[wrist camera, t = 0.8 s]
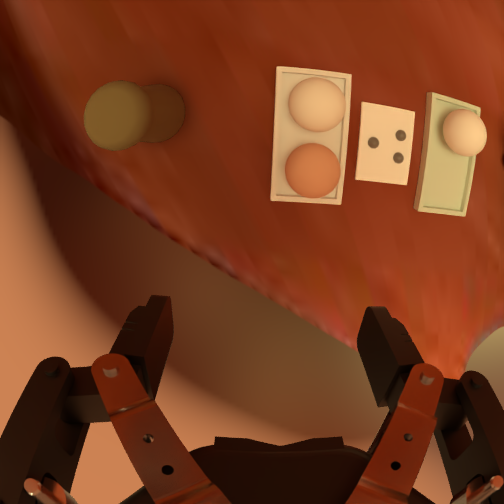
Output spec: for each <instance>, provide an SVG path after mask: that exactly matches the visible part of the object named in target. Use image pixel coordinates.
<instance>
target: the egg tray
mask: <svg viewBox="0 0 504 504" xmlns="http://www.w3.org/2000/svg"><path fill="white" fill-rule="evenodd" d="M351 76H352V74H345V73H339V72H331V71H324V70H315V69H306V68H295V67H282V66H277V67H276V82H275V107H274V130H273V151H272V172H271V191H270V199H271V201H287V202H307V203H323V204H339V205H341V200H342V192H343V183H344V174H345V164H346V153H347V141H348V129H349V114H350V98H351ZM311 77H320V78H325V79H327V80H330V81H331V82H333V83H334V84H336V85H337V86H338V87H339V88H340V90H341V91H342V93H343V95H344V97H345V101H346V111H345V115H344V117H343V119H342V121H341V122H340V123H339V124H338V125H337V126H336V127H334V128H333V129H331V130H329V131H325V132H312V131H308V130H306V129H304V128H302V127H301V126H299V125H298V124H297V123H296V122H295V121H294V119H293V118H292V116H291V114H290V111H289V106H288V101H289V96H290V93H291V91H292V89H293V88H294V87H295V86H296V85H297V84H298V83H299V82H300V81H302V80H304V79H307V78H311ZM307 143H317V144H321V145H324V146H326V147H327V148H329V149H330V150H331V151H332V152H333V153H334V154H335V155H336V157H337V159H338V161H339V163H340V169H341V175H340V179H339V182H338V184H337V186H336V187H335V189H334V190H333V191H332V192H330V193H329V194H328V195H326V196H323V197H320V198H306V197H303V196H301V195H299V194H297V193H296V192H295V191H294V190H293V189H292V188H291V187H290V185H289V184H288V182H287V180H286V176H285V164H286V161H287V158H288V156H289V155H290V154H291V152H292V151H293V150H294V149H296V148H297V147H299V146H301V145H303V144H307Z"/></svg>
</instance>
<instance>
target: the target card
mask: <svg viewBox="0 0 504 504" xmlns="http://www.w3.org/2000/svg"><path fill="white" fill-rule="evenodd" d="M414 118H415V112H413V111H409V110H404V109H399V108H394V107H389V106H384V105H379V104H373V103H367V102H361V114H360V128H359V140H358V151H357V161H356V171H355V180H365V181H375V182H384V183H392V184H400V185H407V180H408V173H409V166H410V158H411V149H412V140H413V130H414Z"/></svg>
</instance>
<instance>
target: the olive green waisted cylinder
mask: <svg viewBox="0 0 504 504" xmlns="http://www.w3.org/2000/svg"><path fill="white" fill-rule="evenodd" d="M184 118H185V105H184V102H183V99H182V97H181V96H180V94H179V93H178V92H177V91H176V90H175V89H173V88H171V87H170V86H167V85H163V84H155V85H148V86H142V87H140V86H139V85H137V84H135V83H133V82H128V81H123V80H119V81H113V82H110V83H107V84H105V85H103V86H102V87H100V88H98V89H97V90H96V91H95V92H94V93H93V94H92V95H91V97H90V99H89V101H88V103H87V104H86V108H85V112H84V126H85V129H86V132H87V135H88V136H89V138H90V139H91V140H92V142H93V143H95V144H96V145H98V146H99V147H101V148H104V149H108V150H112V151H117V150H124V149H127V148H129V147H131V146H133V145H136V144H137V143H138V142H150V143H154V142H162V141H165V140H168V139H170V138H171V137H172V136H174V135H175V134H176V133H177V132H178V131H179V129H180V128H181V126H182V124H183V121H184Z"/></svg>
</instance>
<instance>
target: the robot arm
mask: <svg viewBox="0 0 504 504" xmlns="http://www.w3.org/2000/svg"><path fill="white" fill-rule="evenodd" d="M173 334H174V325H173V315H172V305H171V298H170V296H159V295H151V297H150V299H149V301H148V303H147V305H146V306H138V307H137V308H135V309H134V310H133V311H132V312H130V314H129V316H128V318H127V319H126V323H124V325H123V327H122V330H121V331H120V333H119V335H118V337H117V339H116V341H115V343H114V345H113V346H112V348H111V351H110V352H109V354H106V355H103V356H100V357H99V358H97V359H96V360H95V361H94V363H93V364H92V366H89V367H76V368H70V365H69V363H68V362H67V361H66V360H65V359H63V358H61V357H50V358H47V359H44V360H43V361H41V362H40V363H39V364H38V366H37V367H36V369H35V371H34V372H33V374H32V376H31V378H30V380H29V381H28V383H27V385H26V387H25V389H24V391H23V393H22V395H21V397H20V398H19V400H18V402H17V405H16V406H15V408H14V410H13V412H12V414H11V416H10V418H9V420H8V423H7V425H6V427H5V429H4V431H3V433H2V435H1V438H0V504H78V503H77V501H76V500H75V499H74V498H73V497H72V496H71V495H70V491H71V487H72V483H73V479H74V476H75V472H76V469H77V465H78V462H79V458H80V455H81V451H82V448H83V445H84V442H85V438H86V435H87V432H88V429H89V426H90V423H94V422H109V421H111V422H112V424H113V426H114V428H115V430H116V432H117V434H118V437H119V439H120V441H121V443H122V445H123V447H124V449H125V451H126V453H127V454H128V457H129V459H130V461H131V462H132V464H133V466H134V468H135V470H136V472H137V473H138V475H139V477H140V479H141V481H142V482H143V484H144V486H143V487H142V488H140V489H139V490H137V491H136V492H135V493H133V494H132V495H131V496H129V497H128V498H126V499H125V500H124V501H122V502H121V503H120V504H435V503H434V502H432V501H431V500H429V499H428V498H426V497H425V496H424V495H422V494H421V493H420V492H418V491H417V490H416V489H414V488H413V485H414V483H415V480H416V478H417V475H418V473H419V471H420V468H421V466H422V463H423V461H424V457H425V455H426V452H427V449H428V447H429V444H430V441H431V438H432V435H433V432H434V435H435V438H436V441H437V444H438V448H439V451H440V454H441V457H442V460H443V464H444V467H445V470H446V474H447V477H448V481H449V484H450V488H451V492H452V495H453V498H452V499H451V501H450V504H504V410H503V409H502V406H501V404H500V402H499V400H498V398H497V397H496V395H495V393H494V391H493V389H492V387H491V386H490V384H489V382H488V380H487V379H486V378H485V377H484V376H483V375H482V374H480V373H479V372H476V371H467V372H465V373H464V374H463V375H462V376H461V378H460V380H456V379H448V378H443V375H442V373H441V372H440V371H439V369H437V368H436V367H434V366H432V365H430V364H426V363H424V361H423V359H422V357H421V355H420V353H419V352H418V350H417V348H416V346H415V344H414V342H412V339H411V337H410V335H408V332H407V330H406V328H405V327H404V325H403V324H402V323H400V322H399V321H398V320H397V319H396V318H392V317H391V315H390V314H389V312H388V310H387V308H386V307H374V306H369V307H367V308H366V310H365V314H364V317H363V320H362V323H361V327H360V330H359V333H358V337H357V348H358V351H359V354H360V357H361V359H362V362H363V365H364V368H365V371H366V374H367V377H368V379H369V382H370V385H371V388H372V391H373V394H374V397H375V400H376V403H377V406H378V407H384V406H388V407H389V412H388V413H387V415H386V417H385V419H384V421H383V423H382V425H381V427H380V429H379V431H378V433H377V435H376V436H375V438H374V440H373V442H372V444H371V446H370V447H369V449H368V451H367V452H365V451H363V450H361V449H358V448H355V447H352V446H347V445H344V443H343V439H342V437H329V438H313V439H308V440H305V441H301V442H297V443H293V444H288V445H284V446H277V445H273V444H268V443H264V442H259V441H255V440H251V439H247V438H245V439H244V438H228V437H215V442H214V445H210V446H205V447H201V448H198V449H195V450H192V451H190V452H188V451H187V449H186V448H185V446H184V445H183V444H182V442H181V441H180V439H179V437H178V436H177V435H176V433H175V432H174V430H173V429H172V427H171V425H170V424H169V423H168V421H167V419H166V418H165V416H164V415H163V413H162V411H161V410H160V408H159V407H158V405H157V404H156V402H155V397H156V394H157V391H158V387H159V384H160V380H161V377H162V374H163V370H164V367H165V364H166V360H167V357H168V354H169V351H170V347H171V344H172V341H173ZM467 420H468V421H469V423H470V425H471V428H472V430H473V434H474V438H473V441H472V439H471V437H470V434H469V432H468V429H467V427H466V424H465V423H466V421H467Z"/></svg>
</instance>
